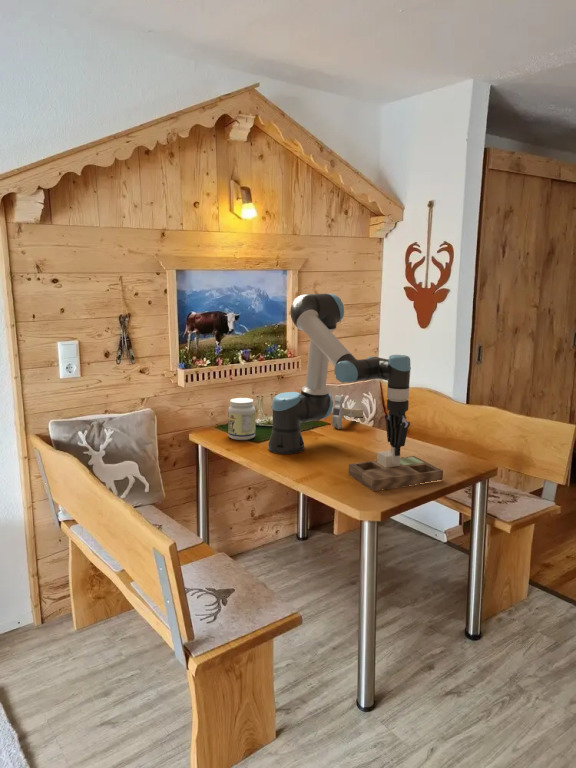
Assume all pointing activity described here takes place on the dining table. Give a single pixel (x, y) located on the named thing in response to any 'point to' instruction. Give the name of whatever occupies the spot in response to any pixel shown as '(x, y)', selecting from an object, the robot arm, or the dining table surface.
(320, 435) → the dining table surface
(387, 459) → the block
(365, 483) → the board
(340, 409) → the hammer
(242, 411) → the supplement tub
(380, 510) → the dining table surface
